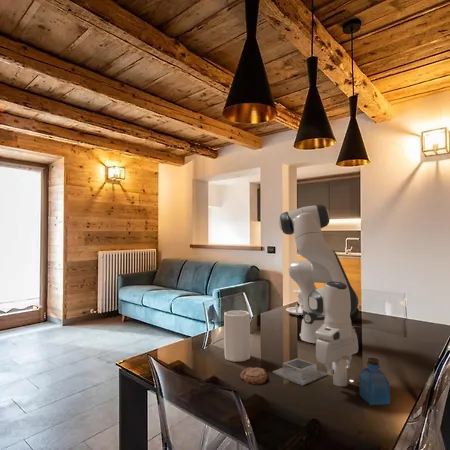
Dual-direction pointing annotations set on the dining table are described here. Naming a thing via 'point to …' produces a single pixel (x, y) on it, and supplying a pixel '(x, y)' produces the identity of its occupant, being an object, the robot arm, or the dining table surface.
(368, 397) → the perfume bottle
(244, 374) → the cookie
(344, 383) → the white lidded jar
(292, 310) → the candlestick
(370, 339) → the dining table surface
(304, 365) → the duct collar
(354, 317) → the squash
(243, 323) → the cup
